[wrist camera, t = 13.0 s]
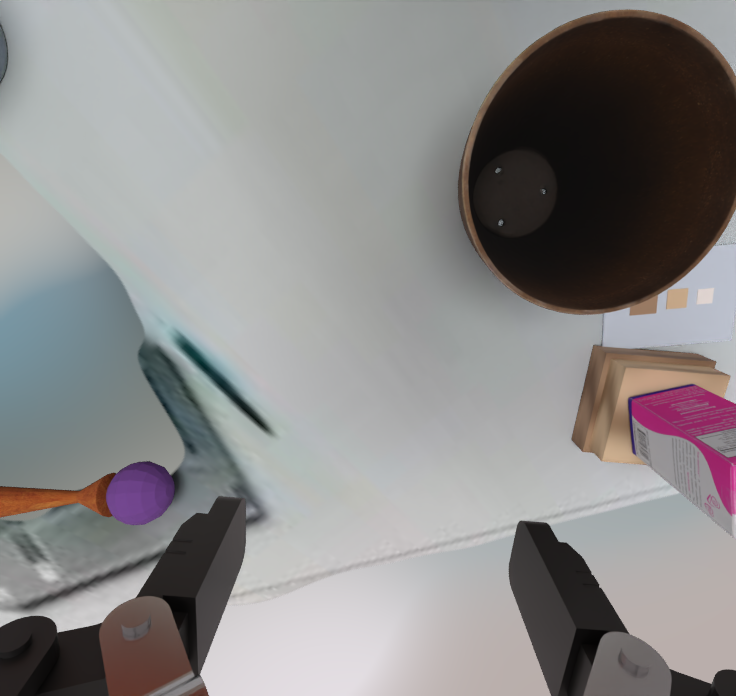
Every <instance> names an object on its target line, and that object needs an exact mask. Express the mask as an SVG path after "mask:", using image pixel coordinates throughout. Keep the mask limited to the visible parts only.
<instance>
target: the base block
mask: <svg viewBox="0 0 736 696" xmlns="http://www.w3.org/2000/svg"><path fill="white" fill-rule="evenodd" d="M715 365H716V361H713V360H711V359H708V358H706V357H704V356H701V355H699V354H693V353H681V352H669V351H657V350H645V349H626V348H614V347H603V346H596V345H593V349H592V354H591V358H590V362H589V367H588V371H587V375H586V380H585V384H584V388H583V392H582V397H581V401H580V405H579V410H578V414H577V418H576V423H575V427H574V431H573V436H572V441H573V442H574V443H575V444H576V445H577V446H578V447H579V448H580V449H581V451H582V452H591V453H595V455H596V456H597V457H598V458H599V459H600V460H601V461H604V462H617V463H630V464H642V465H647V464H645V463H644V462H643V461H642V460H641V459H639V458H638V457H637V456H636V455H634V454H633V449H632V439H631V428H630V417H629V406H628V398H629V397H634V396H639V395H644V394H648V393H653V392H658V391H662V390H667V389H672V388H676V387H681V386H686V385H690V384H695V385H697V386H699V387H701V388H703V389H705V390H707V391H709V392H712V393H714V394H716V395H718V396H720V397H722V398H724V395H725V392H726V389H727V386H728V383H729V380H730V377H731V376H730V375H727V374H725V373H723V372H720V371H718V370H716V369H714V368H715Z"/></svg>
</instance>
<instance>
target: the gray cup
mask: <svg viewBox="0 0 736 696" xmlns="http://www.w3.org/2000/svg"><path fill="white" fill-rule="evenodd" d="M6 65H7V46H6V40H5V36H4V33H3V30H2V28H1V26H0V82H1V80H2V78H3V76H4V73H5V70H6Z"/></svg>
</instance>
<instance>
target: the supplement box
mask: <svg viewBox="0 0 736 696" xmlns="http://www.w3.org/2000/svg"><path fill="white" fill-rule="evenodd" d="M628 406H629V417H630V428H631V439H632V449H633V454H634V455H636V456H637V457H638V458H639V459H641V460H642V461H643V462H644V463H645V464H647V465H648V466H649V467H650V468H651V469H653V470H654V471H655V472H656V473H657V474H659V475H660V476H661V477H662V478H663V479H664V480H666V481H667V482H668V483H669V484H670V485H671V486H673V487H674V488H675V489H676V490H677V491H679V492H680V493H681V494H682V495H683V496H685V497H686V498H687V499H688V500H689V501H690V502H692V503H693V504H694V505H695V506H696V507H698V508H699V509H700V510H701V511H702V512H704V513H705V514H706V515H707V516H708V517H710V518H711V519H712V520H713V521H714V522H715V523H717V524H718V525H719V526H720V527H721V528H722V529H724V530H725V531H726V532H727V533H729V534H730V535H731V536H732V537H733V538H735V539H736V404H734V403H732V402H730V401H728V400H726V399H724V398H722V397H720V396H718V395H716V394H714V393H712V392H709V391H707V390H705V389H703V388H701V387H699V386H697V385H695V384H690V385H686V386H681V387H676V388H672V389H667V390H662V391H658V392H653V393H648V394H644V395H639V396H634V397H629V398H628Z"/></svg>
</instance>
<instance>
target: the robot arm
mask: <svg viewBox="0 0 736 696" xmlns="http://www.w3.org/2000/svg"><path fill="white" fill-rule="evenodd" d="M245 545H246V501H245V499H244V498H235V497H223V496H219V497H218V498H217V499H216V501H215V502H214V504H213V506H212V508H211V510H210V511H209V513H208V514H203V513H196V514H195V515H194V516H192V517H191V518H190V519H188V520H187V521H186V522H185V523H183V524H182V525H181V527H180V528H179V530H178V532H177V533H176V535H175V536H174V538H173V541H171V543H170V544H169V546H168V547H167V549H166V552H165V553H164V554H163V555H162V557H161V559H160V560H159V562H158V563H157V565H156V567H155V568H154V570H153V571H152V573H151V575H150V576H149V578H148V579H147V581H146V582H145V584H144V586H143V587H142V589H141V590H140V592H139V594H138V595H137V597H136V598H134V599H131V600H129V601H127V602H124V603H123V604H121V605H119V606H118V607H117V608H115V609H114V610H113V611H112V612H111V613H110V614H109V615H108V616H107V617H106V618H105V620H104V621H103V622H102V623H100V624H97V625H93V626H89V627H84V628H79V629H74V630H69V631H64V632H59V633H57V628H56V625H55V623H54V622H53V621H52V620H51V619H49V618H47V617H44V616H29V617H24V618H20V619H17V620H15V621H12V622H10V623H8V624H5V625H3V626H2V627H0V696H209V695H208V692H207V689H206V686H205V684H204V681H203V679H202V677H201V676H200V673H201V670H202V667H203V664H204V662H205V659H206V657H207V654H208V652H209V649H210V646H211V644H212V641H213V638H214V636H215V633H216V630H217V628H218V625H219V623H220V620H221V618H222V615H223V612H224V610H225V607H226V605H227V602H228V599H229V597H230V594H231V591H232V589H233V586H234V584H235V581H236V578H237V576H238V573H239V571H240V568H241V565H242V562H243V558H244V553H245ZM509 579H510V585H511V588H512V591H513V594H514V597H515V599H516V602H517V604H518V607H519V610H520V613H521V615H522V618H523V621H524V623H525V626H526V629H527V632H528V634H529V637H530V639H531V642H532V645H533V648H534V650H535V653H536V656H537V659H538V661H539V664H540V666H541V669H542V672H543V675H544V677H545V680H546V682H547V685H548V688H549V691H550V693H551V696H736V671H735V670H721V671H719V672H717V674H716V675H715V677H714V679H713V682H712V684H710V683H707V682H704V681H701V680H699V679H696V678H693V677H690V676H687V675H684V674H681V673H679V672H676V671H674V670H671V669H669V667H668V665H667V664H666V662H665V661H664V659H663V658H662V657H661V656H660V654H659V653H657V651H656V650H654V649H653V648H652V647H651V646H650V645H648V644H647V643H646V642H644V641H642V640H641V639H639V638H637V637H635V636H632V635H630V634H629V633H628V631H627V629H626V628H625V626H624V624H623V623H622V621H621V620H620V618H619V616H618V615H617V613H616V612H615V610H614V608H613V606H612V605H611V603H610V602H609V600H608V598H607V597H606V595H605V594H604V592H603V590H602V589H601V588H599V584H598V582H597V580H596V579H595V577H594V576H593V575H592V574H591V571H590V569H589V567H588V566H587V564H586V562H585V561H584V559H583V558H582V556H581V555H580V554H578V553H577V552H576V551H575V550H574V549H573V548H572V547H571V546H570V545H568V544H567V543H563V542H558V540H557V538H556V537H555V535H554V533H553V531H552V530H551V528H550V526H549V525H548V524H547V523H544V522H531V521H520V522H519V523H518V525H517V529H516V534H515V538H514V543H513V548H512V553H511V558H510V562H509Z"/></svg>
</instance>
